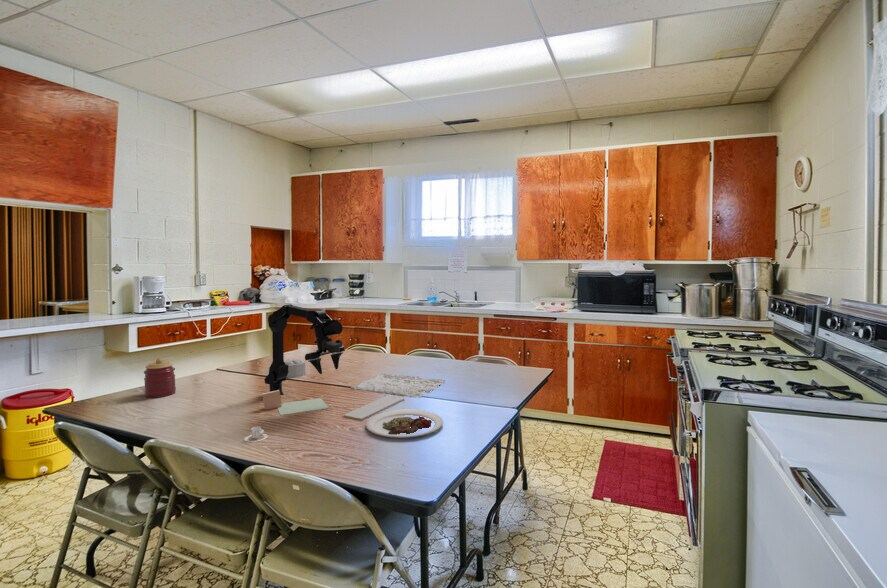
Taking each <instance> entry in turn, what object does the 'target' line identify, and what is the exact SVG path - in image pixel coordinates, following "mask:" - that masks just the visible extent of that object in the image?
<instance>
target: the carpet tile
mask: <svg viewBox="0 0 887 588" xmlns="http://www.w3.org/2000/svg"><path fill="white" fill-rule="evenodd" d="M445 381H446V379H445V380H444V379H442V378H440V379H439V378H429V377H424V378H423V377H419V376H413V375H412V376H410V375H403V374H402V375H393V374H388V373H381V374H378V375H375V376H374V377H372V378H371V379H368V380H364V381H363V382H361V383H358V384H356V385H352V386H350V389H351V390H355V391H357V390H358V391H364V392H370V393H377V394H378V393H379V394H384V395H386V393H387V395H394V396H397V395H398V396H400V397H403V396H404V397H408V398H409V397H410V398H416V397H421V398H422V396H423V395H424V394H422V393H428V392H429V391H431V390H432V391H434V390H435V389H434V388H436V387H437V388H439V387H440V386H442V385H443V384H442V383H444V382H445ZM445 383H446V382H445ZM445 383H444V384H445ZM436 384H437V385H436ZM441 384H442V385H441ZM439 385H440V386H439ZM438 386H439V387H438ZM437 388H436V389H437ZM433 389H434V390H433ZM424 391H425V392H424ZM432 391H431V392H432ZM429 393H430V392H429ZM429 393H428V394H429ZM395 394H396V395H395ZM418 395H422V396H418ZM424 396H425V395H424ZM424 396H423V397H424Z"/></svg>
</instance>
